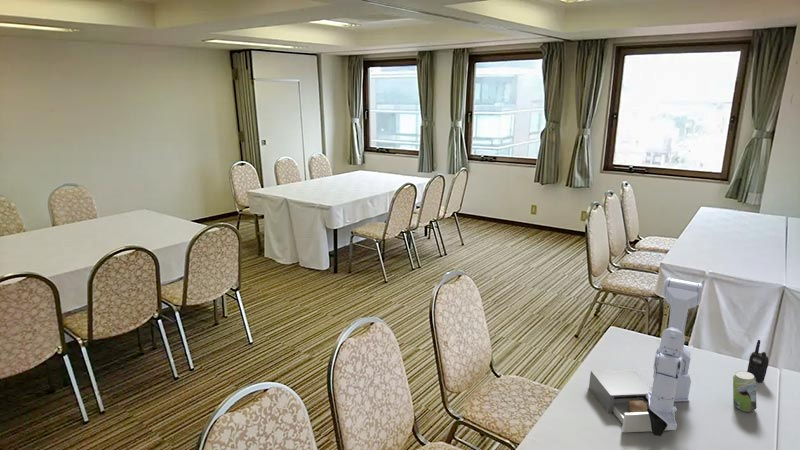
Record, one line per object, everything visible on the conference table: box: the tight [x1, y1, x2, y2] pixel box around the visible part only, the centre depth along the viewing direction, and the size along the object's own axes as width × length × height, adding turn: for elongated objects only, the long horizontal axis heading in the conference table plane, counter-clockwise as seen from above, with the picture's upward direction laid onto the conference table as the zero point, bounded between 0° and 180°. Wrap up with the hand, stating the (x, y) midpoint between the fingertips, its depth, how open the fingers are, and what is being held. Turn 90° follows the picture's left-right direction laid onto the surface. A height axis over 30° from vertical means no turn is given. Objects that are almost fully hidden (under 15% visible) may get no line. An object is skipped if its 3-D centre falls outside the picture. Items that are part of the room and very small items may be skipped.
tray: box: [612, 396, 676, 433], centre depth 148 cm, size 15×14×6 cm
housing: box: [588, 368, 652, 414], centre depth 157 cm, size 15×14×6 cm
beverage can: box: [732, 370, 758, 412], centre depth 152 cm, size 6×7×12 cm
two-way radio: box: [746, 339, 769, 384], centre depth 167 cm, size 6×4×15 cm
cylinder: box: [627, 399, 647, 413], centre depth 148 cm, size 5×5×4 cm
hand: (656, 434), depth 138 cm, fingers closed
